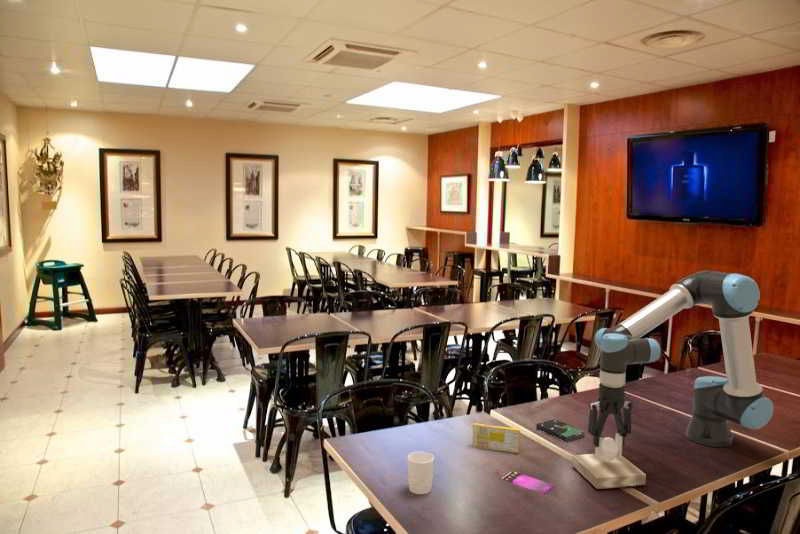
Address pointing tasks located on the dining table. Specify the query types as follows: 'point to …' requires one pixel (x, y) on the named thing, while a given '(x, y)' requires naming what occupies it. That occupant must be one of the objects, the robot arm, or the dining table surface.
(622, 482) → the beige satin panel
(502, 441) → the candy box
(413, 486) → the white cup
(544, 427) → the disk drive
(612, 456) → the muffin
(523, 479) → the smartphone
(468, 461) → the dining table surface
